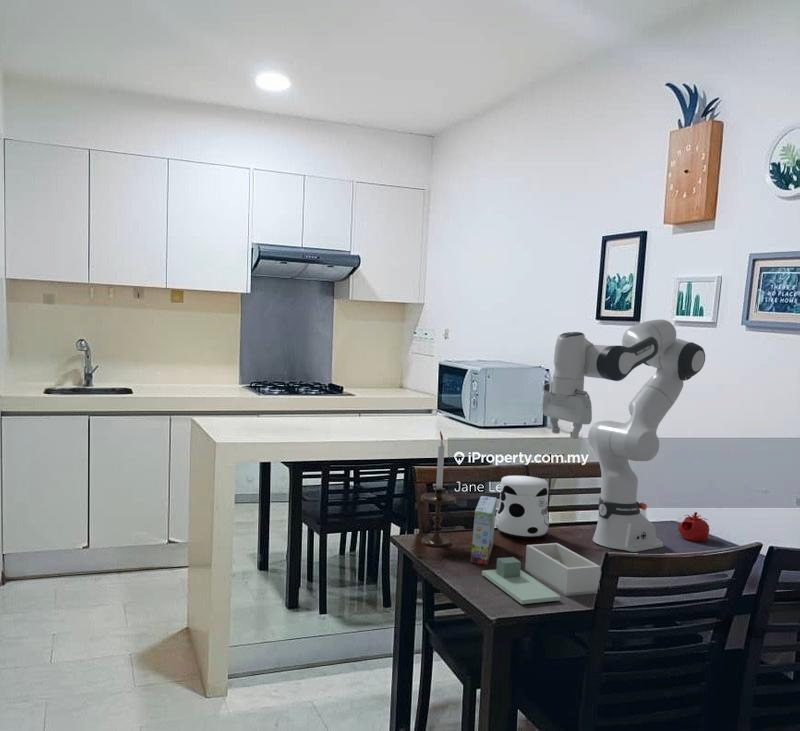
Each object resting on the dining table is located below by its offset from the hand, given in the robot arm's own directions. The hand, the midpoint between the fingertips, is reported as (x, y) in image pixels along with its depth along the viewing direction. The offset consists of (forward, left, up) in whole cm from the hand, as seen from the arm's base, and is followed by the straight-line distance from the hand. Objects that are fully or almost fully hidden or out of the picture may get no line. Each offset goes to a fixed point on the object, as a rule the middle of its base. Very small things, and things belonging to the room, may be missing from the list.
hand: (564, 435), depth 202 cm
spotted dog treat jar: (-4, -27, -37) cm, 46 cm away
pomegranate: (-61, -11, -37) cm, 72 cm away
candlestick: (+28, -24, -37) cm, 52 cm away
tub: (+8, +14, -37) cm, 40 cm away
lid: (+22, +16, -37) cm, 46 cm away
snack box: (+18, -12, -37) cm, 43 cm away
